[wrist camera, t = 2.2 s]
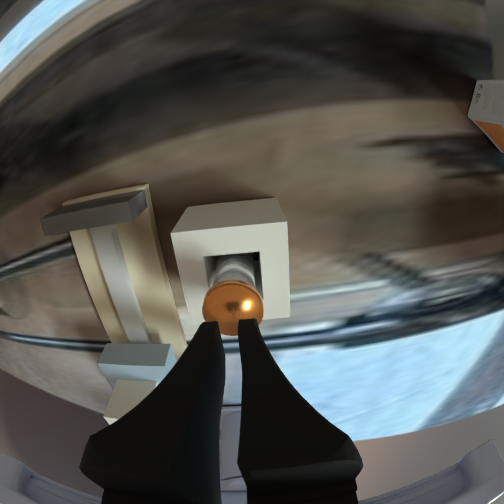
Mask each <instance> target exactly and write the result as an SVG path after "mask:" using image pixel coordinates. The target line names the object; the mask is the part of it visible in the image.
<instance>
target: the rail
mask: <svg viewBox="0 0 504 504" xmlns="http://www.w3.org/2000/svg"><path fill="white" fill-rule="evenodd" d="M62 205H63V206H62V207H60V208H58V209H57V210H55V211H53V212H51V213H50V214H48V215H46V216H45V217H43V218H41V219H40V221H41V224H42V228H43V231H44V235H45V236H48V235H53V234H59V233H65V232H70V235H71V239H72V242H73V245H74V249H75V252H76V255H77V258H78V261H79V264H80V267H81V270H82V273H83V276H84V278H85V281H86V284H87V286H88V289H89V292H90V294H91V297H92V299H93V302H94V304H95V307H96V309H97V312H98V314H99V316H100V319H101V321H102V323H103V326H104V328H105V330H106V332H107V334H108V337H109V339H110V341H111V343H117V344H171V346H172V349H173V352H174V354H175V357H176V360H177V361H178V360H179V358H180V357H181V355H182V354H183V352H184V351H185V349H186V348H187V343H186V339H185V336H184V333H183V329H182V326H181V323H180V319H179V316H178V312H177V308H176V305H175V301H174V297H173V294H172V290H171V286H170V282H169V278H168V274H167V270H166V266H165V262H164V258H163V253H162V249H161V245H160V240H159V235H158V231H157V226H156V221H155V216H154V211H153V206H152V201H151V195H150V190H149V184H143V185H137V186H132V187H127V188H121V189H116V190H111V191H106V192H101V193H96V194H92V195H87V196H83V197H78V198H74V199H70V200H67V201H66V202H64V203H62Z"/></svg>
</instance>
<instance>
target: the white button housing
mask: <svg viewBox="0 0 504 504" xmlns="http://www.w3.org/2000/svg"><path fill="white" fill-rule="evenodd" d="M171 238H172V243H173V248H174V253H175V257H176V262H177V266H178V271H179V275H180V279H181V284H182V288H183V292H184V296H185V300H186V304H187V308H188V312H189V316H190V320H191V323H192V325H195V324H202V322H205V320H204V318H203V314H202V307H203V302H204V297H205V295H206V293H207V291H208V290H209V289H210V288H211V287H212V286H213V281H214V275H215V270H216V264H217V255H226V254H237V253H248V252H259V260H256V261H253V264H254V277H255V288H256V289H257V290H258V292H259V293H260V295H261V297H262V301H263V310H264V314H263V318H262V320H265V319H275V318H285V317H290V288H289V256H288V232H287V220H286V218H285V216H284V214H283V212H282V209H281V207H280V205H279V203H278V200H277V198H268V199H256V200H245V201H235V202H225V203H216V204H207V205H198V206H190V207H187V209H186V210H185V212H184V213H183V215H182V216H181V218H180V219H179V221H178V222H177V224H176V225H175V227H174V228H173V230H172V232H171Z"/></svg>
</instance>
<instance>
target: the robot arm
mask: <svg viewBox="0 0 504 504" xmlns="http://www.w3.org/2000/svg"><path fill="white" fill-rule="evenodd" d="M238 339H239V347H240V356H241V364H242V402H241V406H231V407H222V402H223V394H224V386H225V353H224V348H223V344H222V339H221V334H220V329H219V324H218V321H212V322H202V324H201V325H200V326H199V328H198V330H197V332H196V333H195V335H194V337H193V338H192V340H191V342H190V343H189V345H188V346H187V348H186V349H185V351H184V352H183V354H182V355H181V357H180V358H179V360H178V361H177V362H176V363H175V365H174V366H173V367H172V369H171V370H170V371H169V373H168V374H167V375H166V376H165V377H164V379H163V380H162V381H161V382H160V383H159V384H158V385H157V386H156V387H155V388H154V390H153V391H152V392H151V393H150V394H148V395H147V396H146V397H145V398H144V399H143V400H142V401H141V402H140V403H139V404H138V405H136V406H135V407H134V408H133V409H132V410H130V411H129V412H128V413H126V414H125V415H124V416H122V417H121V418H120V419H118V420H117V421H115V422H114V423H112V424H111V425H109V426H107V427H106V428H104V429H102V430H100V431H99V432H97V433H95V434H93V435H91V436H90V437H89V440H88V442H87V444H86V447H85V451H84V453H83V457H82V460H81V463H80V467H79V468H80V470H81V471H82V473H83V474H84V475H85V476H87V477H88V478H89V479H91V480H92V481H93V482H95V483H96V484H98V485H99V486H101V487H102V488H103V489H104V492H103V496H102V498H99V497H96V496H92V495H89V494H86V493H83V492H80V491H78V490H75V489H72V488H69V487H66V486H64V485H61V484H59V483H57V482H54V481H52V480H50V479H47V478H45V477H43V476H41V475H39V474H36V473H34V472H32V471H31V469H29V468H28V467H27V466H25V465H24V464H22V463H21V462H19V461H18V460H16V459H14V458H12V457H11V456H9V455H7V454H5V453H3V454H2V456H1V459H0V502H1V503H2V504H490V503H491V502H492V501H494V500H495V499H497V498H498V497H499V496H501V495H502V494H503V493H504V460H503V458H502V456H501V454H500V452H499V450H498V448H497V446H496V444H495V442H494V440H493V439H490V440H488V441H487V442H485V443H483V444H482V445H480V446H478V447H477V448H475V449H473V450H472V451H470V452H469V453H468V454H466V455H465V456H463V457H462V458H461V459H460V460H459V462H458V463H456V464H454V465H452V466H450V467H448V468H446V469H445V470H442V471H440V472H438V473H436V474H434V475H432V476H429V477H427V478H425V479H422V480H420V481H418V482H415V483H413V484H410V485H408V486H405V487H402V488H400V489H397V490H394V491H391V492H388V493H385V494H382V495H379V496H375V497H372V498H369V499H365V500H362V501H358V499H357V495H356V490H357V485H356V481H355V478H356V477H357V475H358V474H359V473H360V471H361V470H362V468H363V463H362V459H361V457H360V454H359V452H358V450H357V448H356V447H355V445H354V443H353V442H352V440H351V438H350V437H349V436H348V435H347V434H346V433H344V432H343V431H341V430H340V429H338V428H337V427H336V426H334V425H333V424H332V423H330V422H329V421H328V420H327V419H326V418H324V417H323V416H322V415H321V414H320V413H319V412H317V411H316V410H315V409H314V408H313V407H312V406H311V405H310V404H309V403H308V402H307V401H306V400H305V399H304V398H303V397H302V396H301V395H300V394H299V392H298V391H297V390H296V389H295V388H294V387H293V386H292V384H291V383H290V382H289V381H288V379H287V378H286V377H285V375H284V374H283V372H282V371H281V370H280V368H279V367H278V365H277V364H276V362H275V360H274V359H273V357H272V355H271V354H270V352H269V350H268V348H267V346H266V344H265V342H264V340H263V338H262V335H261V333H260V330H259V327H258V322H257V320H256V319H255V318H252V319H240V320H239V322H238ZM219 430H220V432H221V437H220V458H219Z"/></svg>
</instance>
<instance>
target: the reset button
mask: <svg viewBox="0 0 504 504" xmlns="http://www.w3.org/2000/svg"><path fill="white" fill-rule="evenodd" d="M202 314H203V318H204V320H205V322H212V321H218V324H219V329H220V333H221V334H224V335H230V336H237V335H238V322H239V320H240V319H252V318H255V319H256V320H257V322H258V325H259V324H260V323H261V321H262V318H263V314H264V310H263V301H262V297H261V295H260V293H259V292H258V290H257V289H256V288H255V277H254V264H253V255H252V252H248V253H237V254H226V255H218V259H217V264H216V270H215V275H214V281H213V286H212V287H211V288H210V289H209V290H208V291H207V293H206V295H205V297H204V302H203V307H202Z"/></svg>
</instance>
